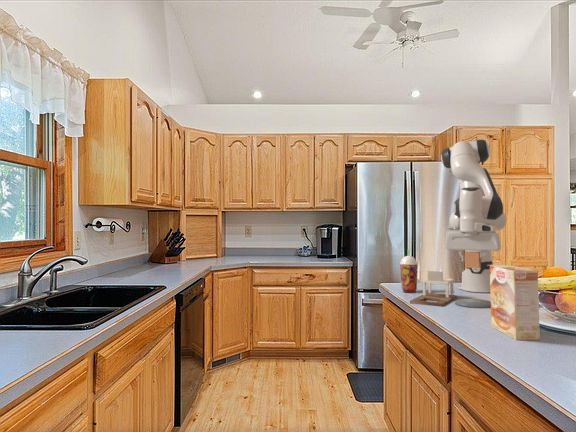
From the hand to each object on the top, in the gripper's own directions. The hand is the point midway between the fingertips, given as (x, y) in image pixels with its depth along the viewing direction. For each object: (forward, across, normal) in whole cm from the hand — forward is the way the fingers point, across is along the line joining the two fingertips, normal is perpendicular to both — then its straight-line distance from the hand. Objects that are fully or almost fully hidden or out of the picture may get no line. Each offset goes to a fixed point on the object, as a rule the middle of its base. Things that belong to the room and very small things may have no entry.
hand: (472, 261), depth 164 cm
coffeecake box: (+18, +19, -38) cm, 46 cm away
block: (+2, 0, 0) cm, 2 cm away
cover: (+16, -16, +8) cm, 24 cm away
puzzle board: (+17, -16, +1) cm, 23 cm away
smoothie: (+17, -32, +16) cm, 40 cm away
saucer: (+17, 0, 0) cm, 17 cm away
